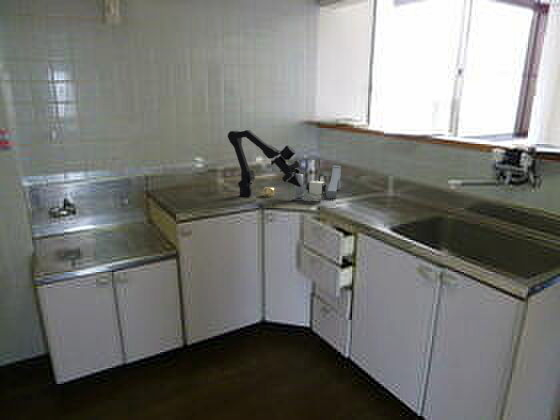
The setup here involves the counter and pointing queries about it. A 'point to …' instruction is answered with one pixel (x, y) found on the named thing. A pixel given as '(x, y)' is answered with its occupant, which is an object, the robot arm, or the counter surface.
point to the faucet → (334, 182)
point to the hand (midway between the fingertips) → (301, 185)
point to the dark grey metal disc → (299, 199)
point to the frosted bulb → (299, 189)
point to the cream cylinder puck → (269, 192)
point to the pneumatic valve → (317, 189)
